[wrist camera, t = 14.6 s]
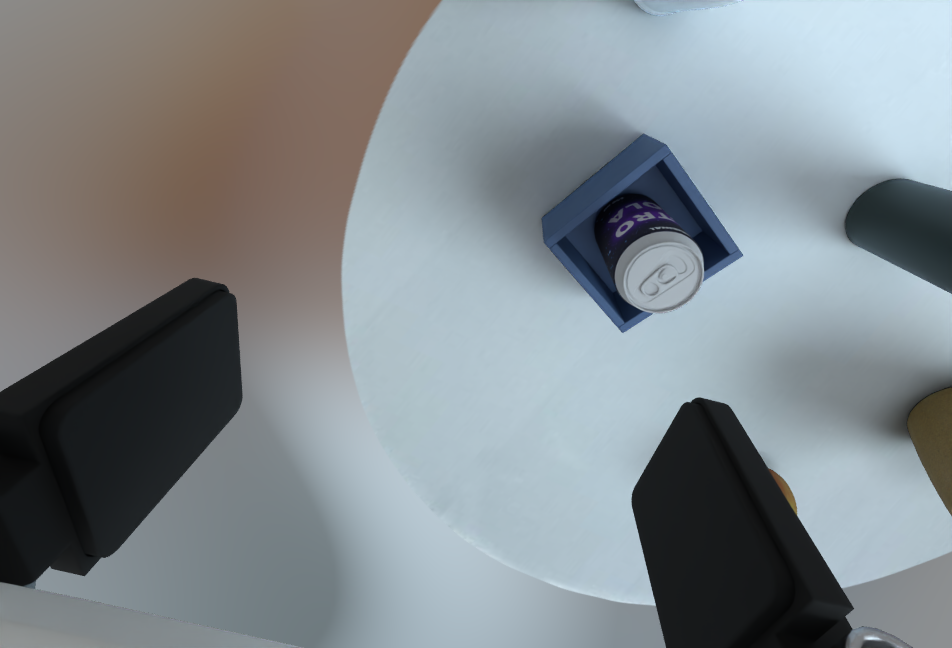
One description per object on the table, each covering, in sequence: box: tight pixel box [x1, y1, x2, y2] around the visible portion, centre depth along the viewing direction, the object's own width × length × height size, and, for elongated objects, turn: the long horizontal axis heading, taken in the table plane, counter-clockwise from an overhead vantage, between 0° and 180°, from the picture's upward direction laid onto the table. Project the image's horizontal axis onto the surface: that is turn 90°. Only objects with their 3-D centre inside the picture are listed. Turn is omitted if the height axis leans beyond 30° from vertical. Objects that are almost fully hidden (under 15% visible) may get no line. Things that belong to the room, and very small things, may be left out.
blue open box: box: [542, 134, 743, 333], centre depth 36 cm, size 10×10×7 cm
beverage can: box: [594, 194, 704, 313], centre depth 33 cm, size 6×6×12 cm
